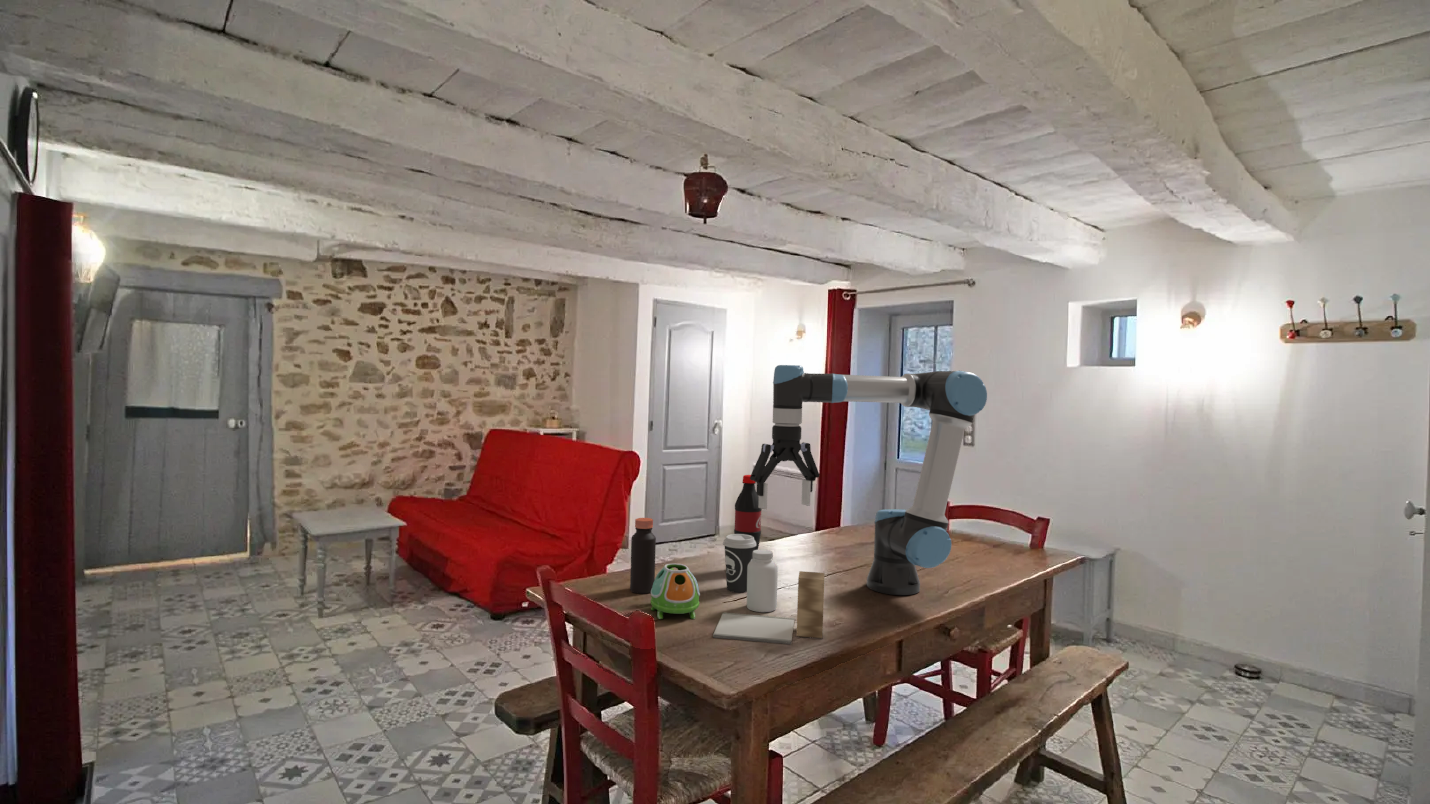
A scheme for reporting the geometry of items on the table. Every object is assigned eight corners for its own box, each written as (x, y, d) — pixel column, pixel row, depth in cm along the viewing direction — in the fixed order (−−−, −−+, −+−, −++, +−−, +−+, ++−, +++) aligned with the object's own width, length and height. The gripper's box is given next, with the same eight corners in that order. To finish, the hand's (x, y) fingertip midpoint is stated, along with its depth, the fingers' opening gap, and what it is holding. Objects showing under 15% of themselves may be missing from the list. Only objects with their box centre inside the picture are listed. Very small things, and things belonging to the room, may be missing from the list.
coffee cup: (752, 595, 201) (754, 541, 200) (718, 592, 202) (720, 539, 202) (757, 586, 210) (759, 534, 209) (724, 583, 212) (726, 532, 211)
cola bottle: (764, 570, 227) (767, 475, 226) (751, 576, 220) (754, 477, 219) (741, 565, 232) (744, 472, 231) (727, 571, 225) (730, 475, 224)
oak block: (822, 630, 175) (824, 572, 174) (822, 639, 169) (824, 579, 168) (797, 628, 176) (799, 571, 175) (796, 637, 170) (798, 577, 169)
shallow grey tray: (794, 620, 181) (794, 618, 181) (791, 644, 165) (791, 641, 165) (723, 615, 184) (723, 612, 184) (712, 637, 168) (713, 634, 168)
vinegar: (659, 590, 203) (661, 519, 202) (641, 595, 198) (642, 522, 197) (643, 585, 207) (645, 515, 206) (625, 590, 202) (626, 518, 201)
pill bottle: (744, 603, 194) (746, 547, 193) (774, 603, 194) (775, 547, 194) (748, 613, 186) (750, 555, 185) (779, 613, 187) (781, 555, 186)
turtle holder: (687, 598, 197) (689, 554, 196) (705, 620, 179) (706, 572, 179) (642, 600, 194) (643, 556, 193) (655, 623, 176) (657, 575, 176)
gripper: (816, 423, 197) (814, 501, 197) (738, 424, 184) (735, 507, 185) (834, 425, 190) (831, 505, 191) (754, 426, 178) (751, 512, 178)
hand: (784, 506), depth 188 cm, fingers open, 13 cm apart
